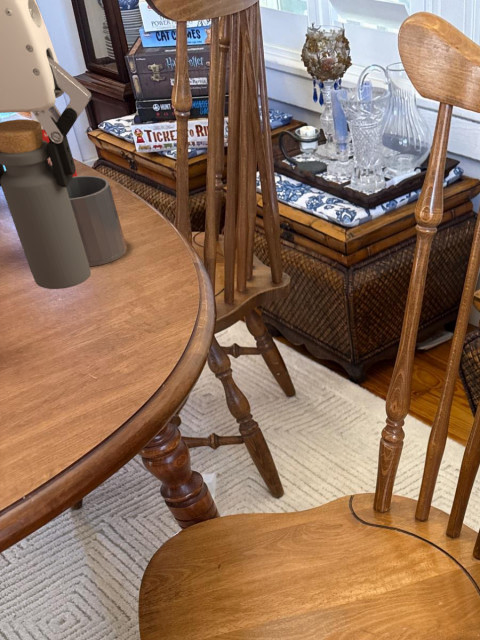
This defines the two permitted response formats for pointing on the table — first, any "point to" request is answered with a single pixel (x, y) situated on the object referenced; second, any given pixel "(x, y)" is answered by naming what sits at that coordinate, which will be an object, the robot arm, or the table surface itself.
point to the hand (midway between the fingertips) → (32, 181)
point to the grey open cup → (96, 219)
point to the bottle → (40, 208)
